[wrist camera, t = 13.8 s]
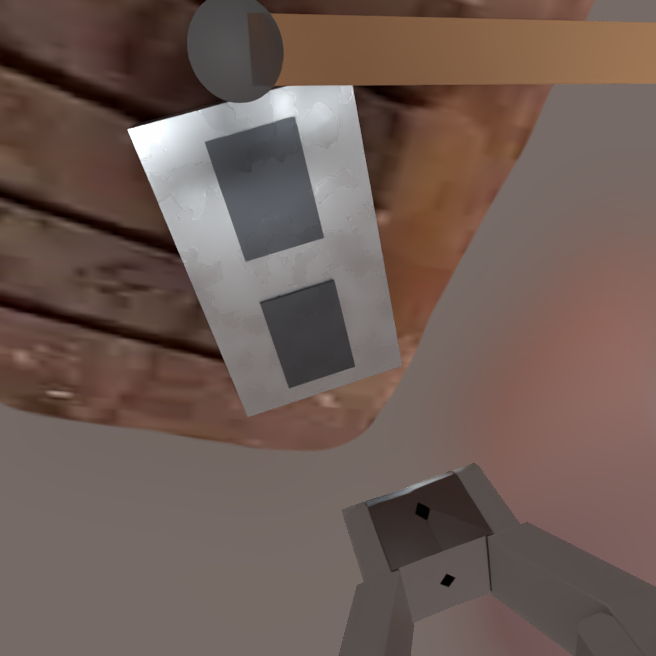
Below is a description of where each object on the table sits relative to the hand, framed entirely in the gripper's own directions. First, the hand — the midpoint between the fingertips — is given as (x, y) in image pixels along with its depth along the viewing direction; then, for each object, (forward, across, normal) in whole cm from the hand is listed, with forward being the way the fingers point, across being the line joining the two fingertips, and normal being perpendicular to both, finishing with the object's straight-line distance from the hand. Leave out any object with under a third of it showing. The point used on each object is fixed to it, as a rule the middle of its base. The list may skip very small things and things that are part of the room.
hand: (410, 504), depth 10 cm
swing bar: (+17, -10, -7) cm, 21 cm away
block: (+24, 0, +1) cm, 24 cm away
